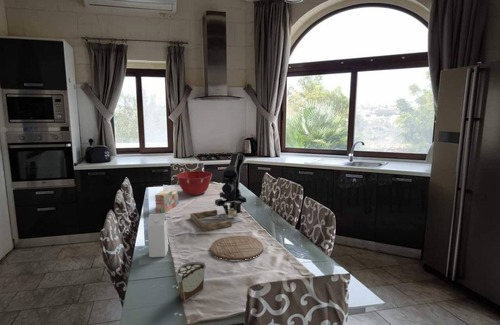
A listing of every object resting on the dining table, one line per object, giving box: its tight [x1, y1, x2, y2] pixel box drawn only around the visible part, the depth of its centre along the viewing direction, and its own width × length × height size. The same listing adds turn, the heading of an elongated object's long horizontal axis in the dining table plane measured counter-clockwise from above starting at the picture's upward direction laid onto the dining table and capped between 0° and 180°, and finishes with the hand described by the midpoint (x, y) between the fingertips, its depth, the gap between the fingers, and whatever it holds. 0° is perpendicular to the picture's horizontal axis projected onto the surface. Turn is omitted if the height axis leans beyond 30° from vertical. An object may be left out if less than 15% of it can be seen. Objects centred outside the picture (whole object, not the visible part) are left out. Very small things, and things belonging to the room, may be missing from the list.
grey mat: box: [219, 214, 244, 224], centre depth 191 cm, size 9×15×1 cm, turn 27°
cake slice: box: [175, 261, 206, 303], centre depth 111 cm, size 12×6×10 cm, turn 145°
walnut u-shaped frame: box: [189, 209, 233, 232], centre depth 184 cm, size 17×24×3 cm
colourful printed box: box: [155, 189, 179, 214], centre depth 211 cm, size 21×6×12 cm, turn 169°
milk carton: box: [147, 213, 169, 258], centre depth 141 cm, size 7×7×19 cm
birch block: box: [225, 208, 237, 218], centre depth 190 cm, size 5×5×4 cm
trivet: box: [210, 235, 264, 261], centre depth 148 cm, size 25×25×2 cm
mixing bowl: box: [175, 170, 213, 196], centre depth 250 cm, size 28×28×16 cm
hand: (231, 214), depth 190 cm, fingers closed on birch block, 5 cm apart
